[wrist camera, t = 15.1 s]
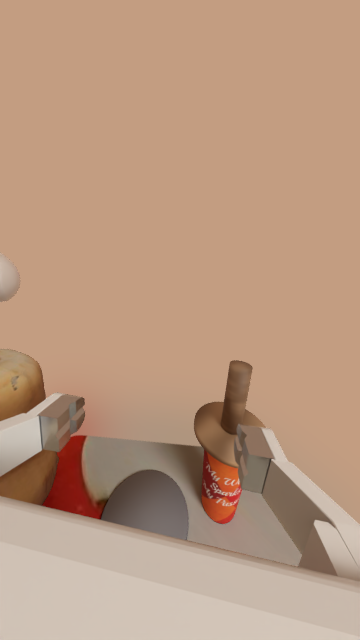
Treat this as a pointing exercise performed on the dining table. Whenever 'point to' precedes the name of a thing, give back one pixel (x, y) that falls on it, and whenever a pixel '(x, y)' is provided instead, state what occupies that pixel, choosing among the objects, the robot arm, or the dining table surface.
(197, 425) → the walnut lid
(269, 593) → the robot arm
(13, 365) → the butternut squash
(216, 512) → the paper cup
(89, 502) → the dining table surface
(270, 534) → the dining table surface
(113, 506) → the charcoal mat
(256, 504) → the dining table surface
